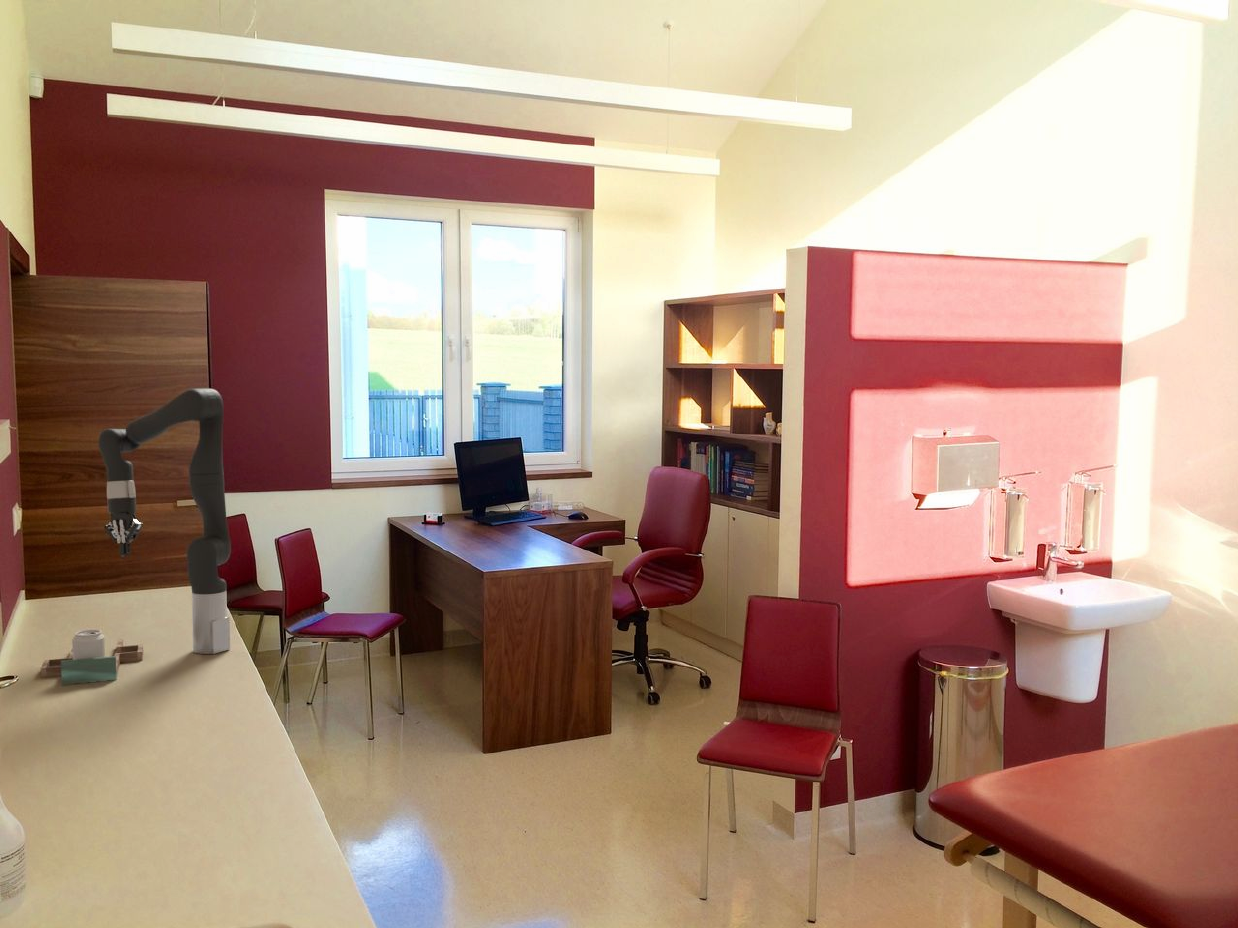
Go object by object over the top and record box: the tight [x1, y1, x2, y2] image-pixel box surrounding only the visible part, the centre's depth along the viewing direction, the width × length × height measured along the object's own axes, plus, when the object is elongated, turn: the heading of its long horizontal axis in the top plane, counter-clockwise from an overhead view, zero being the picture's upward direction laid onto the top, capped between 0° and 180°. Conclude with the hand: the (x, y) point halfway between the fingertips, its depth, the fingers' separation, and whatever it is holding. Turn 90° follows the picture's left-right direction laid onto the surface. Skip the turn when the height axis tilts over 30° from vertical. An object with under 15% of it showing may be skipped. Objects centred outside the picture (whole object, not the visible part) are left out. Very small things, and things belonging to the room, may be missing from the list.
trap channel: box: [40, 638, 144, 686], centre depth 271 cm, size 35×24×6 cm
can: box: [71, 629, 106, 660], centre depth 260 cm, size 8×8×12 cm
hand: (125, 555), depth 291 cm, fingers closed
